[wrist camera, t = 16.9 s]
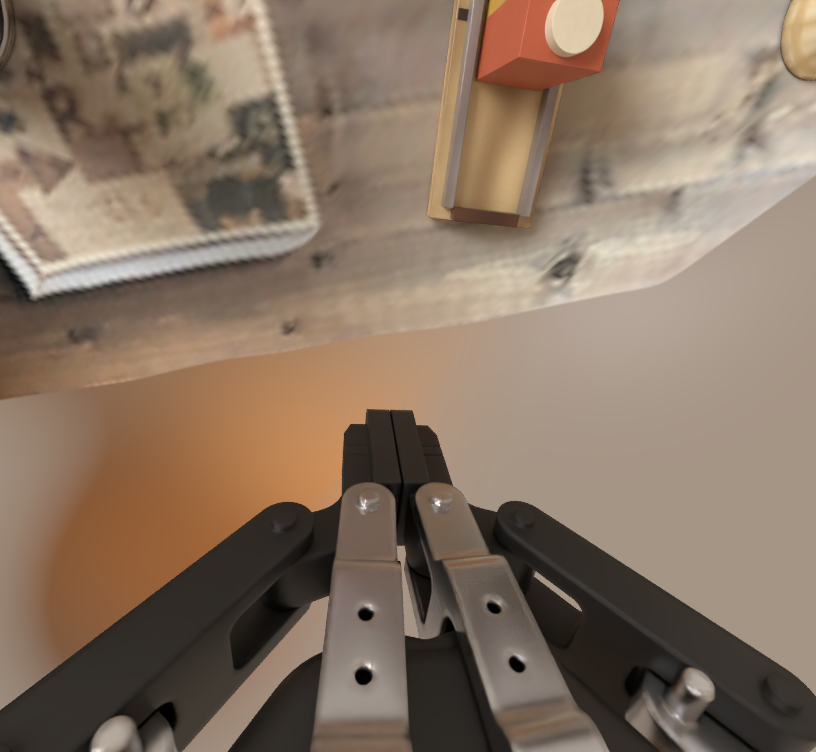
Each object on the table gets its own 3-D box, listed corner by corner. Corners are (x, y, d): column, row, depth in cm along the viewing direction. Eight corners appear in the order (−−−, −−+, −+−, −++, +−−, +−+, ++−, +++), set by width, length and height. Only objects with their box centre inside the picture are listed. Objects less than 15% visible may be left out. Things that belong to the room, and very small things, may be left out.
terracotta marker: (475, 81, 31) (525, 53, 23) (484, 21, 30) (542, -34, 21) (538, 91, 32) (610, 69, 23) (550, 33, 31) (633, -14, 22)
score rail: (426, 215, 37) (432, 219, 34) (467, -107, 28) (479, -131, 25) (524, 225, 38) (535, 230, 36) (592, -77, 29) (614, -97, 27)
